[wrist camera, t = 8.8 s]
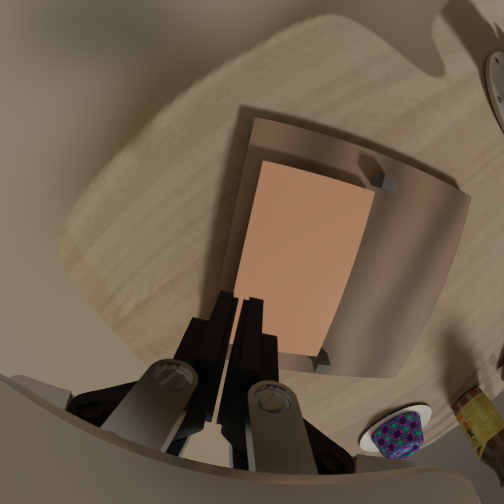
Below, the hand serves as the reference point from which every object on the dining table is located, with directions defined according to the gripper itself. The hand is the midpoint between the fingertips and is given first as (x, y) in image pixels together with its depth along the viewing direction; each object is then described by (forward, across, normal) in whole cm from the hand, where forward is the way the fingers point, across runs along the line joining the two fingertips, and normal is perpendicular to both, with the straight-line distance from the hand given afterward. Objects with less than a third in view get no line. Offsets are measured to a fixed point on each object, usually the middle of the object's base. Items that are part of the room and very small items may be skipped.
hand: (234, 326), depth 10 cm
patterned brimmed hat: (+12, -27, +23) cm, 38 cm away
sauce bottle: (+12, -40, +18) cm, 46 cm away
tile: (+9, -3, +1) cm, 10 cm away
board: (+12, -8, +1) cm, 14 cm away
